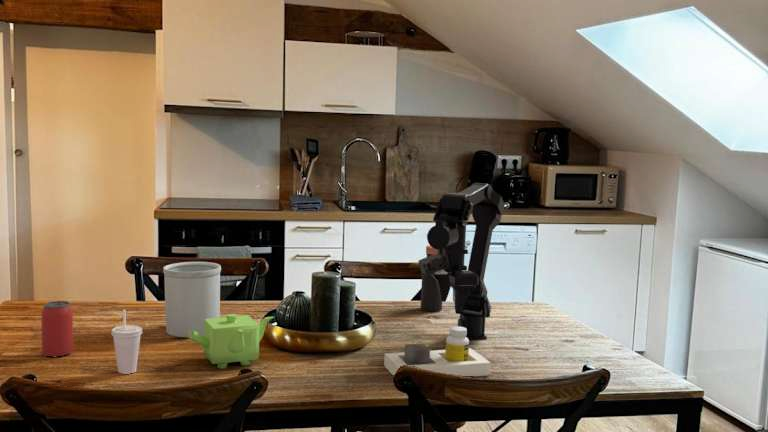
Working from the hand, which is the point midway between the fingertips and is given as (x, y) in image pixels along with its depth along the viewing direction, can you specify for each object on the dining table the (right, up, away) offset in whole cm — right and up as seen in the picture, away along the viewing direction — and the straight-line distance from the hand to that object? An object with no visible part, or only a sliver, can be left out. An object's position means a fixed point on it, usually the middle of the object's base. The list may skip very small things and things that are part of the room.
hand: (450, 306), depth 174 cm
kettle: (-52, -12, -12) cm, 54 cm away
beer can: (-93, -10, -11) cm, 94 cm away
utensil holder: (-68, -8, +12) cm, 70 cm away
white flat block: (-4, -13, -12) cm, 19 cm away
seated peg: (-9, -13, -14) cm, 21 cm away
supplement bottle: (0, -14, -11) cm, 17 cm away
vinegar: (-2, -7, +45) cm, 45 cm away
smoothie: (-73, -12, -21) cm, 77 cm away
